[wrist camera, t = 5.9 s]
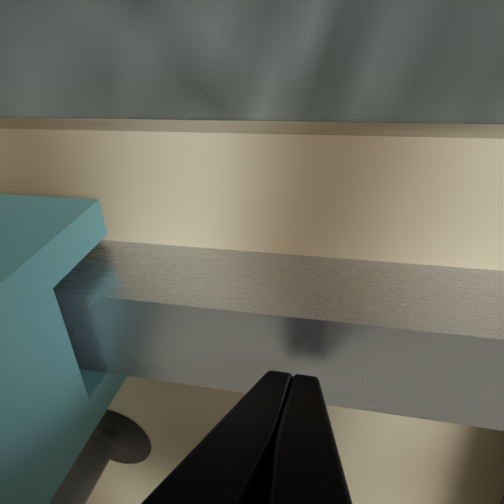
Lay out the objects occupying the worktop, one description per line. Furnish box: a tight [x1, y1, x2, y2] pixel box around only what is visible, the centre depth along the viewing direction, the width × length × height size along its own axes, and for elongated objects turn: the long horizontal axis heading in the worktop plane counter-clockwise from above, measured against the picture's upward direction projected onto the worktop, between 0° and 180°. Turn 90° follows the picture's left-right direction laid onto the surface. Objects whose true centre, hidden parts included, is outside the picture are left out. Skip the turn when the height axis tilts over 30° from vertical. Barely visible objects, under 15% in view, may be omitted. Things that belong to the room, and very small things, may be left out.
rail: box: [53, 240, 504, 431], centre depth 10 cm, size 17×2×2 cm, turn 93°
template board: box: [0, 117, 504, 504], centre depth 13 cm, size 19×15×1 cm
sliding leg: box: [0, 194, 127, 504], centre depth 10 cm, size 4×9×5 cm, turn 3°
